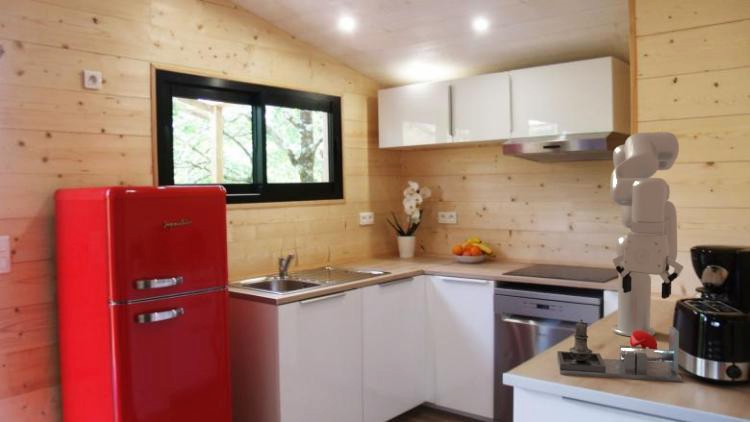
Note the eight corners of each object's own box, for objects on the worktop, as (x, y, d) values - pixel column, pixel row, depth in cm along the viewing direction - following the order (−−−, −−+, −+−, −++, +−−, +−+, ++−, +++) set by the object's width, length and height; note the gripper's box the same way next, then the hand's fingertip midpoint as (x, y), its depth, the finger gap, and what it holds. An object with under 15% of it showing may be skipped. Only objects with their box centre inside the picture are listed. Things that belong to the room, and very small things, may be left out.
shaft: (619, 361, 158) (620, 324, 158) (672, 364, 155) (673, 326, 155) (622, 367, 154) (623, 329, 153) (677, 371, 151) (679, 332, 150)
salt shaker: (593, 368, 155) (594, 322, 154) (570, 366, 156) (570, 321, 155) (590, 360, 161) (591, 316, 160) (567, 359, 162) (568, 315, 161)
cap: (622, 340, 172) (639, 333, 168) (630, 329, 176) (647, 322, 172) (640, 363, 171) (658, 357, 167) (647, 352, 175) (665, 345, 171)
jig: (557, 359, 165) (557, 339, 165) (669, 366, 159) (669, 345, 159) (560, 373, 154) (560, 352, 153) (681, 382, 147) (682, 360, 147)
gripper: (607, 227, 156) (606, 292, 157) (677, 232, 143) (675, 302, 145) (620, 224, 161) (619, 287, 162) (689, 229, 148) (687, 297, 150)
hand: (645, 294), depth 153 cm, fingers open, 9 cm apart
